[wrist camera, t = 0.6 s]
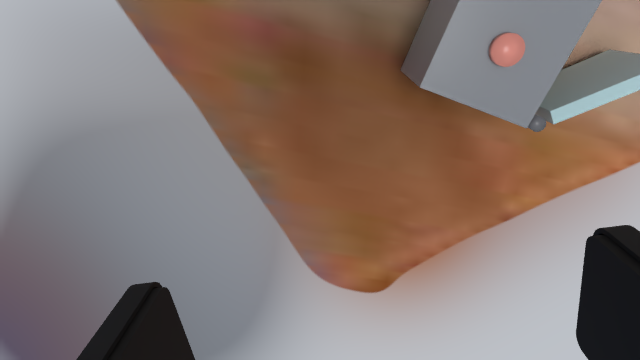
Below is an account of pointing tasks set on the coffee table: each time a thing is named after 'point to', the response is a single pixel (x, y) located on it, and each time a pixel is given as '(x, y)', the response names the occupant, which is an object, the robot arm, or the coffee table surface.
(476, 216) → the coffee table surface
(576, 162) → the coffee table surface
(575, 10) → the housing
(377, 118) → the coffee table surface
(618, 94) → the side door
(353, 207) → the coffee table surface
